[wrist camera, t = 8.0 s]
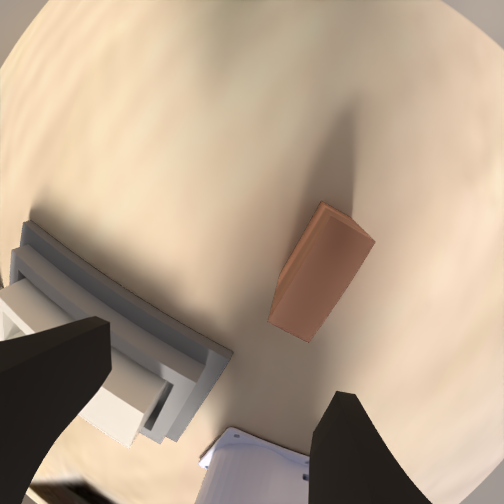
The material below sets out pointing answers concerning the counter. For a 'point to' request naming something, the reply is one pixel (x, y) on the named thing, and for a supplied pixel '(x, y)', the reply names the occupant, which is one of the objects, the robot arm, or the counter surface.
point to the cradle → (126, 328)
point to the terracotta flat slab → (318, 272)
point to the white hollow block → (118, 381)
